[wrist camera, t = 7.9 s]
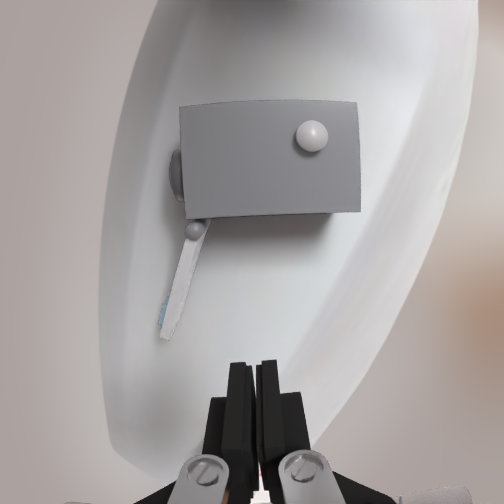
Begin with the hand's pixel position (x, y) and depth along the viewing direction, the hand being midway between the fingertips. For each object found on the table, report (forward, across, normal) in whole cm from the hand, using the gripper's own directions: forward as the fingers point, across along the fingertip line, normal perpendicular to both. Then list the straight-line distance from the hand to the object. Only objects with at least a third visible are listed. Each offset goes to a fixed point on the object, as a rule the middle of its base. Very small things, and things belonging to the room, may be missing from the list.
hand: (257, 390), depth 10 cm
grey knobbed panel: (+22, -2, -8) cm, 23 cm away
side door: (+21, +7, +2) cm, 22 cm away
